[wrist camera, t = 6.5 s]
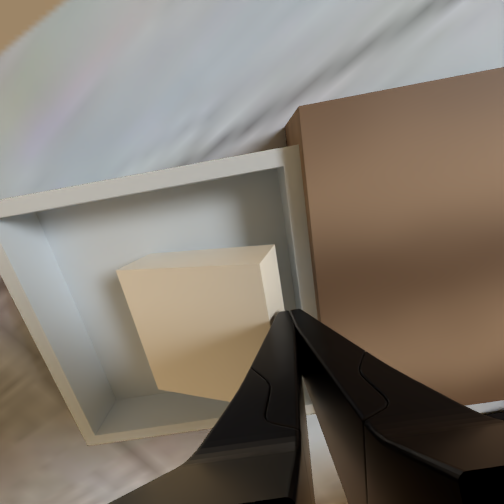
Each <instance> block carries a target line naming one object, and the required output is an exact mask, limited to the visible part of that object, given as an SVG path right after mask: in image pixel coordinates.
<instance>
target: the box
mask: <svg viewBox="0 0 504 504" xmlns="http://www.w3.org/2000/svg"><path fill="white" fill-rule="evenodd" d="M272 244H275V250H276V256H277V263H278V270H279V276H280V283H281V290H282V296H283V303H284V310H285V311H287V310H288V311H290V310H293V309H301V310H303V311H305V312H306V313H308V314H309V315H311V316H312V317H314V318H315V319H317V320H318V318H317V309H316V299H315V290H314V281H313V272H312V262H311V253H310V244H309V235H308V226H307V216H306V207H305V198H304V189H303V179H302V170H301V161H300V152H299V144H298V145H292V146H287V147H282V148H276V149H271V150H265V151H260V152H255V153H249V154H244V155H238V156H233V157H228V158H222V159H217V160H211V161H206V162H201V163H195V164H190V165H184V166H179V167H174V168H168V169H163V170H157V171H152V172H147V173H141V174H136V175H130V176H125V177H120V178H114V179H109V180H103V181H98V182H93V183H87V184H82V185H76V186H71V187H66V188H60V189H55V190H49V191H44V192H39V193H33V194H28V195H22V196H17V197H12V198H6V199H1V200H0V275H1V277H2V279H3V281H4V283H5V285H6V287H7V289H8V291H9V293H10V295H11V297H12V299H13V301H14V303H15V304H16V306H17V308H18V310H19V312H20V314H21V316H22V318H23V320H24V322H25V324H26V326H27V328H28V330H29V332H30V334H31V336H32V338H33V340H34V342H35V344H36V346H37V348H38V350H39V352H40V354H41V356H42V357H43V359H44V361H45V363H46V365H47V367H48V369H49V371H50V373H51V375H52V377H53V379H54V381H55V383H56V385H57V387H58V389H59V391H60V393H61V395H62V397H63V399H64V401H65V403H66V405H67V407H68V408H69V410H70V412H71V414H72V416H73V418H74V420H75V422H76V424H77V426H78V428H79V430H80V432H81V434H82V436H83V438H84V440H85V442H86V444H87V446H91V445H98V444H106V443H113V442H120V441H127V440H134V439H141V438H148V437H155V436H162V435H169V434H176V433H183V432H190V431H197V430H204V429H211V428H213V427H214V425H215V424H216V422H217V421H218V419H219V418H220V416H221V415H222V414H223V412H224V411H225V409H226V408H227V406H228V405H229V403H230V402H227V401H222V400H216V399H210V398H205V397H199V396H193V395H188V394H182V393H176V392H170V391H165V390H159V389H158V387H157V384H156V382H155V379H154V376H153V373H152V370H151V368H150V365H149V362H148V359H147V356H146V354H145V351H144V348H143V345H142V342H141V340H140V337H139V334H138V331H137V329H136V326H135V323H134V320H133V317H132V315H131V312H130V309H129V306H128V303H127V301H126V298H125V295H124V292H123V289H122V287H121V284H120V281H119V278H118V275H117V273H116V270H118V269H120V268H122V267H124V266H126V265H128V264H130V263H132V262H134V261H136V260H138V259H140V258H142V257H144V256H146V255H149V254H151V253H164V252H178V251H191V250H205V249H218V248H232V247H245V246H259V245H272ZM302 380H303V377H302ZM303 390H304V400H305V410H306V415H310V414H316V413H315V410H314V407H313V404H312V402H311V399H310V396H309V393H308V391H307V388H306V385H305V383H304V380H303Z"/></svg>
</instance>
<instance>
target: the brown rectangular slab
mask: <svg viewBox="0 0 504 504" xmlns="http://www.w3.org/2000/svg"><path fill="white" fill-rule="evenodd" d="M285 132H286V140H287V146H292V145H298V144H299V152H300V161H301V170H302V179H303V189H304V198H305V207H306V216H307V226H308V235H309V244H310V253H311V262H312V272H313V281H314V290H315V299H316V309H317V318H318V320H319V321H320V322H322V323H323V324H325V325H326V326H328V327H329V328H331V329H333V330H334V331H336V332H337V333H339V334H340V335H342V336H343V337H345V338H347V339H348V340H350V341H351V342H353V343H354V344H356V345H357V346H359V347H360V348H362V349H364V350H365V352H368V353H370V354H372V355H373V356H375V357H376V358H378V359H379V360H381V361H383V362H384V363H386V364H388V365H389V366H391V367H393V368H394V369H396V370H398V371H400V372H402V373H403V374H405V375H407V376H409V377H411V378H413V379H414V380H416V381H418V382H420V383H422V384H424V385H426V386H428V387H430V388H432V389H433V390H435V391H437V392H439V393H441V394H443V395H445V396H447V397H449V398H451V399H453V400H454V401H456V402H458V403H460V404H462V405H472V404H479V403H486V402H493V401H500V400H504V67H502V68H497V69H492V70H486V71H481V72H476V73H471V74H466V75H460V76H455V77H450V78H445V79H439V80H434V81H429V82H424V83H418V84H413V85H408V86H403V87H398V88H392V89H387V90H382V91H377V92H371V93H366V94H361V95H356V96H351V97H345V98H340V99H335V100H330V101H324V102H319V103H314V104H309V105H303V106H299V107H298V108H297V110H296V111H295V113H294V114H293V115H292V117H291V118H290V120H289V121H288V123H287V124H286V126H285Z"/></svg>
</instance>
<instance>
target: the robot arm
mask: <svg viewBox="0 0 504 504" xmlns="http://www.w3.org/2000/svg"><path fill="white" fill-rule="evenodd" d="M302 377H303V380H304V383H305V385H306V388H307V391H308V393H309V396H310V399H311V402H312V404H313V407H314V410H315V413H316V415H317V418H318V421H319V424H320V426H321V429H322V432H323V435H324V437H325V440H326V443H327V446H328V448H329V451H330V454H331V456H332V459H333V462H334V465H335V467H336V470H337V473H338V476H339V478H340V481H341V484H342V487H343V489H344V492H345V495H346V498H347V500H348V503H349V504H504V412H502V413H494V414H489V415H487V416H486V415H483V414H481V413H478V412H476V411H474V410H472V409H470V408H468V407H466V406H464V405H462V404H460V403H458V402H456V401H454V400H453V399H451V398H449V397H447V396H445V395H443V394H441V393H439V392H437V391H435V390H433V389H432V388H430V387H428V386H426V385H424V384H422V383H420V382H418V381H416V380H414V379H413V378H411V377H409V376H407V375H405V374H403V373H402V372H400V371H398V370H396V369H394V368H393V367H391V366H389V365H388V364H386V363H384V362H383V361H381V360H379V359H378V358H376V357H375V356H373V355H372V354H370V353H368V352H365V350H364V349H362V348H360V347H359V346H357V345H356V344H354V343H353V342H351V341H350V340H348V339H347V338H345V337H343V336H342V335H340V334H339V333H337V332H336V331H334V330H333V329H331V328H329V327H328V326H326V325H325V324H323V323H322V322H320V321H319V320H317V319H315V318H314V317H312V316H311V315H309V314H308V313H306V312H305V311H303V310H301V309H293V310H290V311H288V310H287V311H280V312H278V313H277V315H276V317H275V319H274V321H273V323H272V325H271V327H270V329H269V331H268V333H267V335H266V337H265V339H264V341H263V343H262V345H261V347H260V349H259V351H258V353H257V355H256V357H255V359H254V361H253V363H252V365H251V367H250V369H249V370H248V372H247V374H246V376H245V378H244V380H243V382H242V384H241V386H240V387H239V389H238V391H237V392H236V394H235V396H234V397H233V399H232V400H231V402H230V403H229V405H228V406H227V408H226V409H225V411H224V412H223V414H222V415H221V416H220V418H219V419H218V421H217V422H216V424H215V425H214V427H213V428H212V430H211V431H210V433H209V434H208V435H207V437H206V438H205V440H204V441H203V443H202V444H201V445H200V447H199V448H198V449H197V451H196V452H195V453H194V454H193V455H192V456H191V457H190V458H189V459H188V460H187V461H186V462H185V463H184V464H182V465H181V466H179V467H178V468H176V469H174V470H172V471H170V472H168V473H166V474H164V475H162V476H160V477H159V478H157V479H155V480H153V481H151V482H149V483H147V484H145V485H143V486H141V487H139V488H137V489H135V490H134V491H132V492H130V493H128V494H126V495H124V496H122V497H120V498H118V499H116V500H114V501H112V502H110V503H109V504H315V499H314V489H313V479H312V469H311V459H310V449H309V439H308V430H307V420H306V410H305V400H304V390H303V380H302Z"/></svg>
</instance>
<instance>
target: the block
mask: <svg viewBox="0 0 504 504" xmlns="http://www.w3.org/2000/svg"><path fill="white" fill-rule="evenodd" d="M116 273H117V275H118V278H119V281H120V284H121V287H122V289H123V292H124V295H125V298H126V301H127V303H128V306H129V309H130V312H131V315H132V317H133V320H134V323H135V326H136V329H137V331H138V334H139V337H140V340H141V342H142V345H143V348H144V351H145V354H146V356H147V359H148V362H149V365H150V368H151V370H152V373H153V376H154V379H155V382H156V384H157V387H158V389H159V390H165V391H170V392H176V393H182V394H188V395H193V396H199V397H205V398H210V399H216V400H222V401H227V402H231V400H232V399H233V397H234V396H235V394H236V392H237V391H238V389H239V387H240V386H241V384H242V382H243V380H244V378H245V376H246V374H247V372H248V370H249V369H250V367H251V365H252V363H253V361H254V359H255V357H256V355H257V353H258V351H259V349H260V347H261V345H262V343H263V341H264V339H265V337H266V335H267V333H268V331H269V329H270V327H271V325H272V323H273V321H274V319H275V317H276V315H277V313H278V312H280V311H285V310H284V303H283V296H282V290H281V283H280V276H279V270H278V263H277V256H276V250H275V244H272V245H259V246H245V247H232V248H218V249H205V250H191V251H178V252H164V253H151V254H149V255H146V256H144V257H142V258H140V259H138V260H136V261H134V262H132V263H130V264H128V265H126V266H124V267H122V268H120V269H118V270H116Z"/></svg>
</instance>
